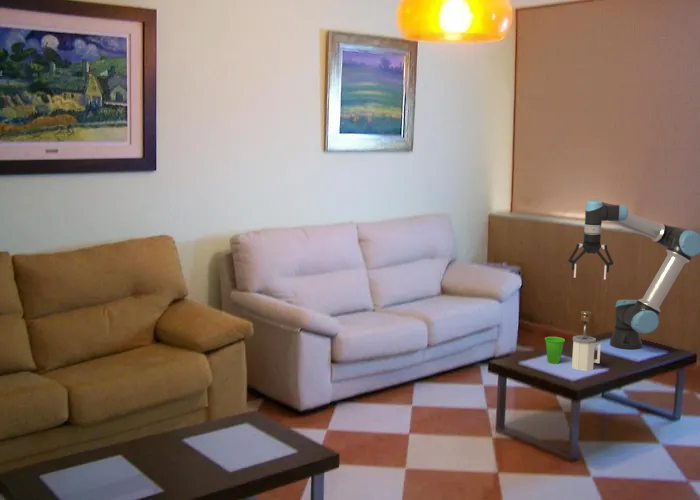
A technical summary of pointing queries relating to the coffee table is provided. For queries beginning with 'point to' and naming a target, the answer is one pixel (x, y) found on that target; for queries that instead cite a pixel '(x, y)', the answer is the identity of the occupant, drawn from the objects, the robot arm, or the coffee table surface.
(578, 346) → the press
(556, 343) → the cup
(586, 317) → the plunger
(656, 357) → the coffee table surface
